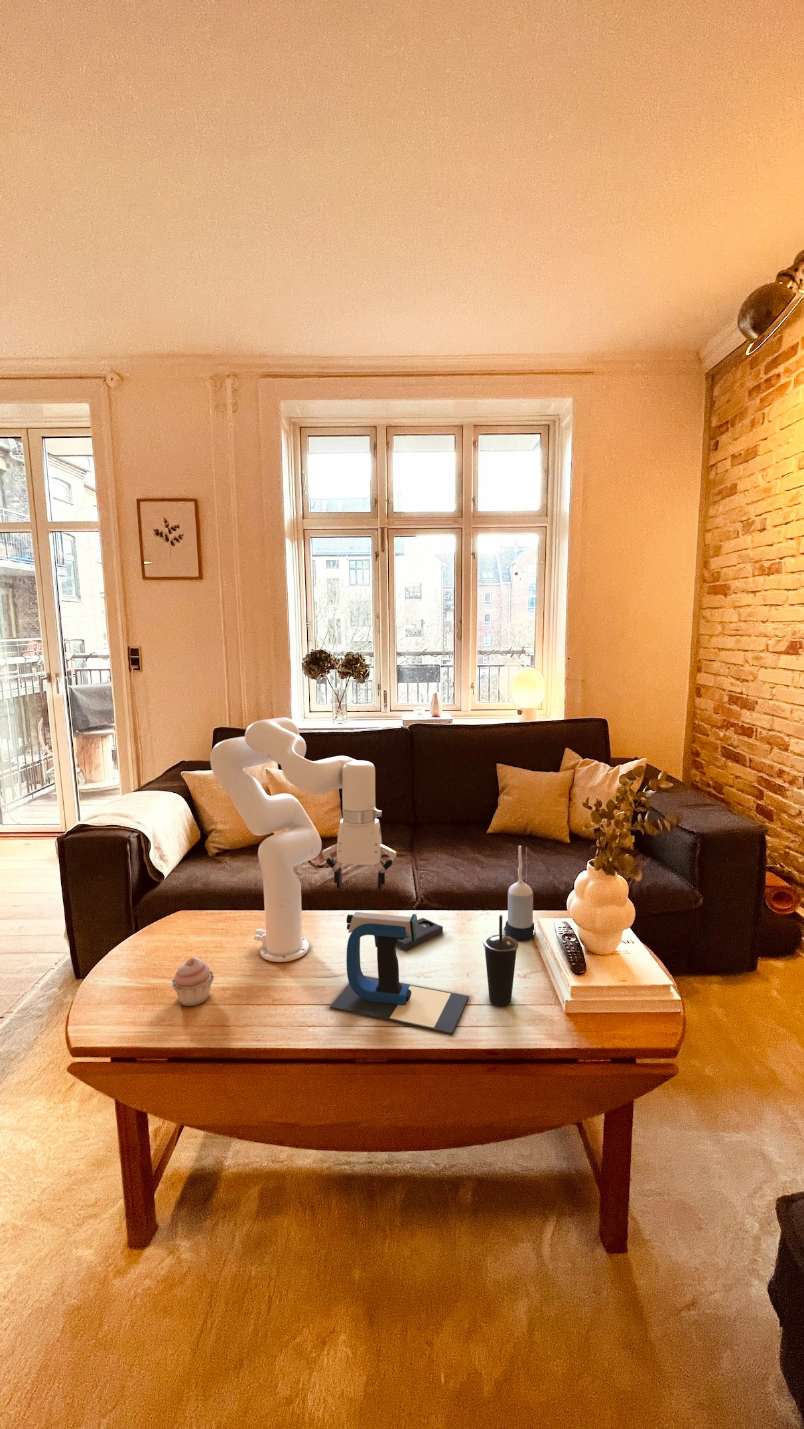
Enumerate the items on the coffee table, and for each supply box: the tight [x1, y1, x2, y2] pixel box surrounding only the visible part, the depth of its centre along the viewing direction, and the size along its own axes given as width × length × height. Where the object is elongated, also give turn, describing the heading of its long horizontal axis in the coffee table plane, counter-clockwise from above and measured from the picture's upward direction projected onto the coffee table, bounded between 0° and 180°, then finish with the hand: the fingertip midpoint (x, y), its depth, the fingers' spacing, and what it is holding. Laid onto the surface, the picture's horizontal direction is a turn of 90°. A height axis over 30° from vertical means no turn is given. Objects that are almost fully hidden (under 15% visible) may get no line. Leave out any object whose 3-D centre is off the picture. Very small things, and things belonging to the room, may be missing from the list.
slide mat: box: [329, 975, 470, 1035], centre depth 135 cm, size 28×14×1 cm, turn 70°
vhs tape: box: [396, 917, 444, 952], centre depth 165 cm, size 14×8×2 cm, turn 133°
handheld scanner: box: [346, 911, 419, 1005], centre depth 135 cm, size 5×16×20 cm, turn 78°
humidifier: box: [503, 845, 535, 942], centre depth 165 cm, size 8×8×25 cm
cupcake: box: [171, 957, 215, 1007], centre depth 137 cm, size 9×9×10 cm
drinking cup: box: [482, 914, 519, 1008], centre depth 134 cm, size 8×8×20 cm
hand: (359, 886), depth 140 cm, fingers open, 9 cm apart
